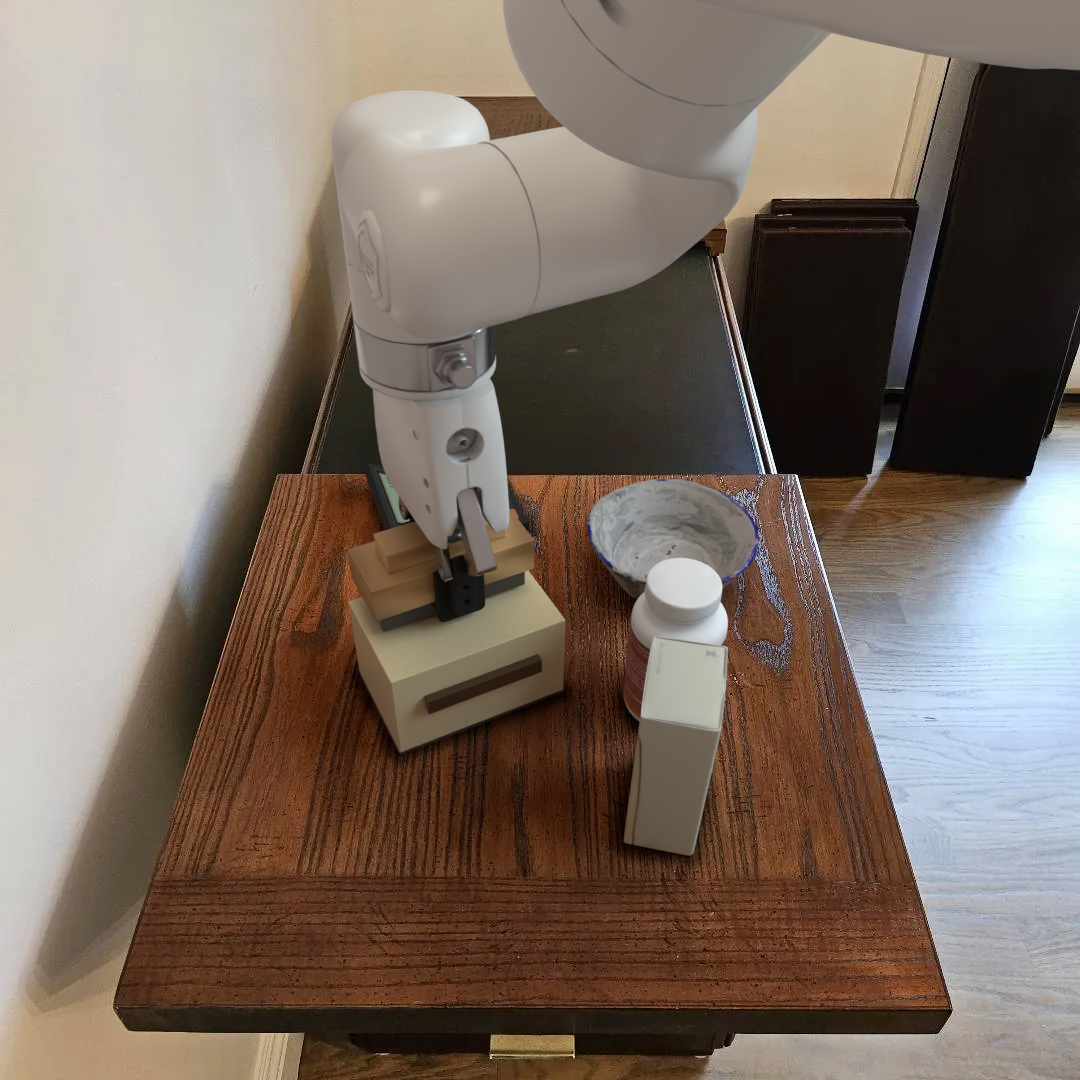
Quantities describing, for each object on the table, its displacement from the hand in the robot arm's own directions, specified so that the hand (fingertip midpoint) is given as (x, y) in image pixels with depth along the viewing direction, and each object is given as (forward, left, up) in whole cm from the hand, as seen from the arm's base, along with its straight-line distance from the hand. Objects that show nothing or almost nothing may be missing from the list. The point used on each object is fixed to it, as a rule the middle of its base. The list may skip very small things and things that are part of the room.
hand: (444, 586), depth 66 cm
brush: (0, 0, 0) cm, 0 cm away
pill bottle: (-10, -12, -8) cm, 17 cm away
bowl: (+1, -19, -8) cm, 21 cm away
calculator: (+17, -7, -8) cm, 19 cm away
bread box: (-2, 0, -8) cm, 8 cm away
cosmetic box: (-17, -7, -8) cm, 20 cm away
